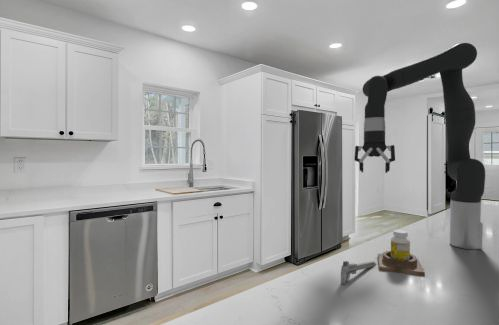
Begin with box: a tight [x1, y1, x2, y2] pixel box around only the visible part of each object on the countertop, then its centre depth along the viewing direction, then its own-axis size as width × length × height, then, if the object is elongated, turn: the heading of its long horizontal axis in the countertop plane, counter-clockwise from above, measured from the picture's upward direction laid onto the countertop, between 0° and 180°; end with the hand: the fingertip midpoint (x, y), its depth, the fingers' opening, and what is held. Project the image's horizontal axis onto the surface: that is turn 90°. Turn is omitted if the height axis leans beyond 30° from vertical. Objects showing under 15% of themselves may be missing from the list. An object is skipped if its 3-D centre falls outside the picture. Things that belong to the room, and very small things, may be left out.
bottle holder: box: [377, 250, 426, 277], centre depth 92 cm, size 12×12×3 cm
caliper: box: [340, 260, 377, 286], centre depth 86 cm, size 21×1×6 cm, turn 133°
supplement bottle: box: [390, 229, 411, 261], centre depth 91 cm, size 5×5×10 cm
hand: (374, 172), depth 111 cm, fingers open, 8 cm apart
